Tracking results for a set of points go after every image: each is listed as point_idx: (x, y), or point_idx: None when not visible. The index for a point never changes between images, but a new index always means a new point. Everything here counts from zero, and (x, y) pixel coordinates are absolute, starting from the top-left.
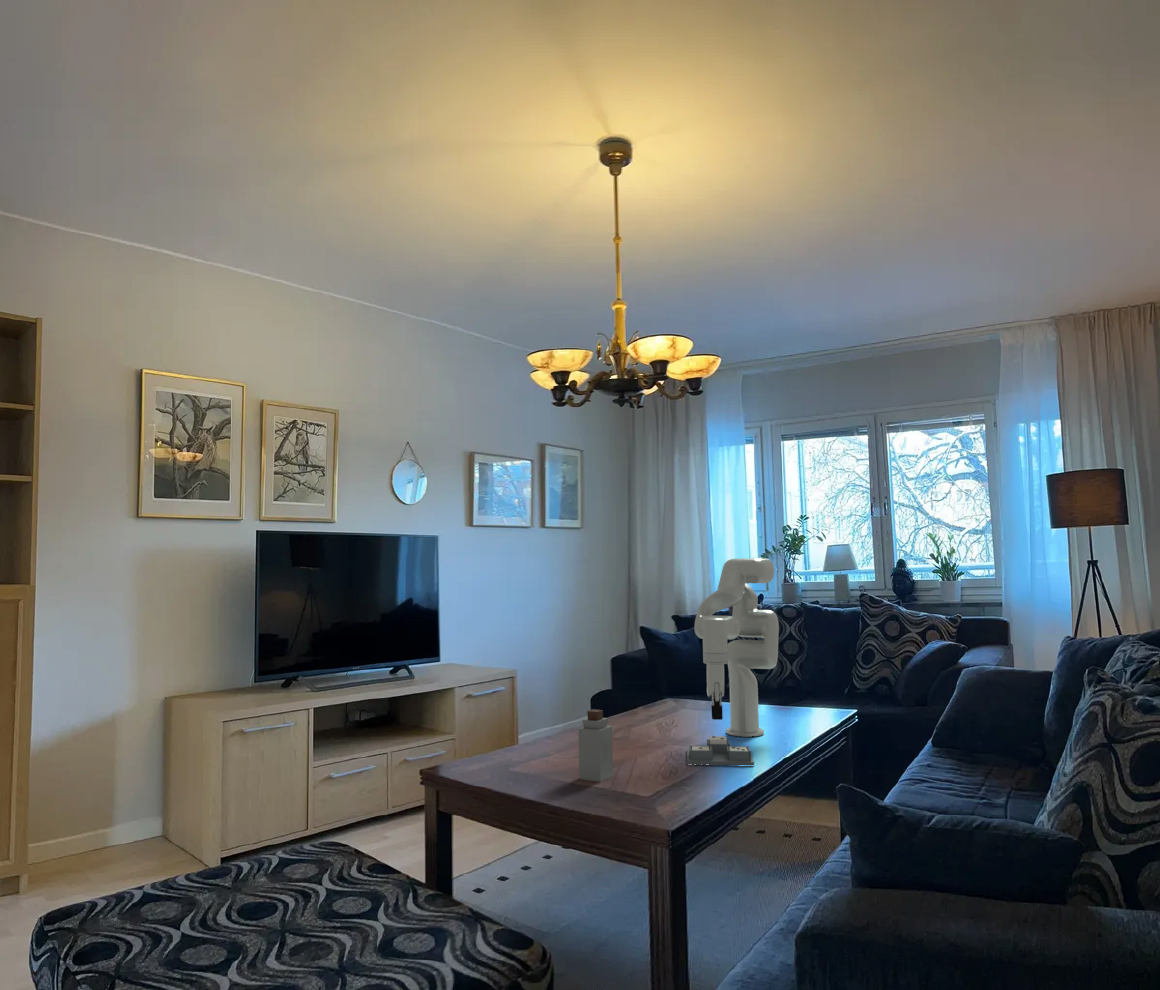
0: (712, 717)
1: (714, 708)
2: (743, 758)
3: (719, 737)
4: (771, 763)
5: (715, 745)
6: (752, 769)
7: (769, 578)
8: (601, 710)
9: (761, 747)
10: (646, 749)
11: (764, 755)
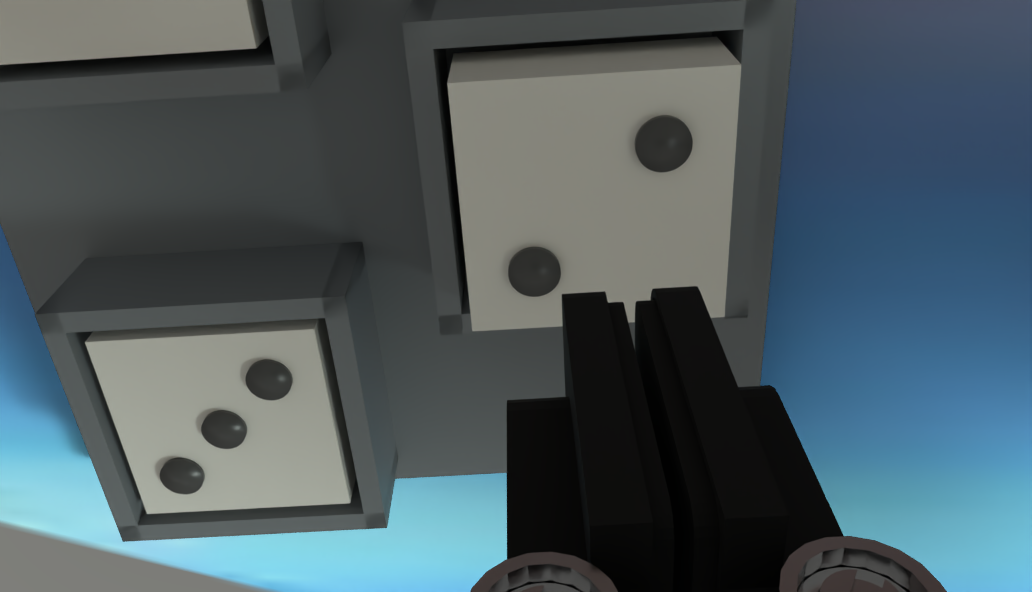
0: (567, 320)
1: (513, 551)
2: None
3: (638, 232)
4: (297, 585)
5: (418, 144)
6: (8, 449)
7: None
8: None
9: (941, 533)
10: None
11: None
